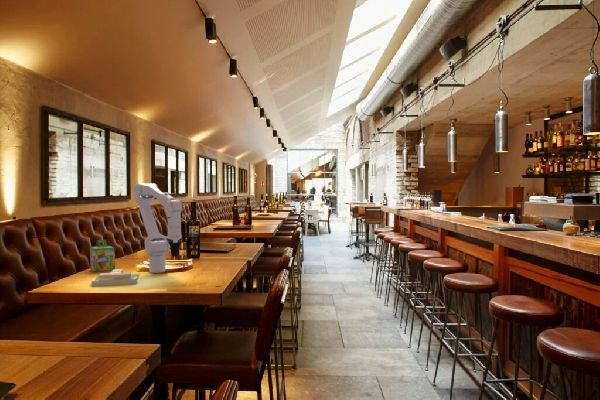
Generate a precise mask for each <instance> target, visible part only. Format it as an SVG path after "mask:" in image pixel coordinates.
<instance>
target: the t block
mask: <svg viewBox="0 0 600 400" xmlns="http://www.w3.org/2000/svg"><path fill="white" fill-rule="evenodd" d="M131 274H132V273H131V272H130V271H129V272H128V271H127V272H126V271H125V272H124V270H123V269H121V268H120V269H117V268H116V269H115V270H111V272H109V273H107V272H106V273H99V274H98V276H99V280H116V279H131Z"/></svg>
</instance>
